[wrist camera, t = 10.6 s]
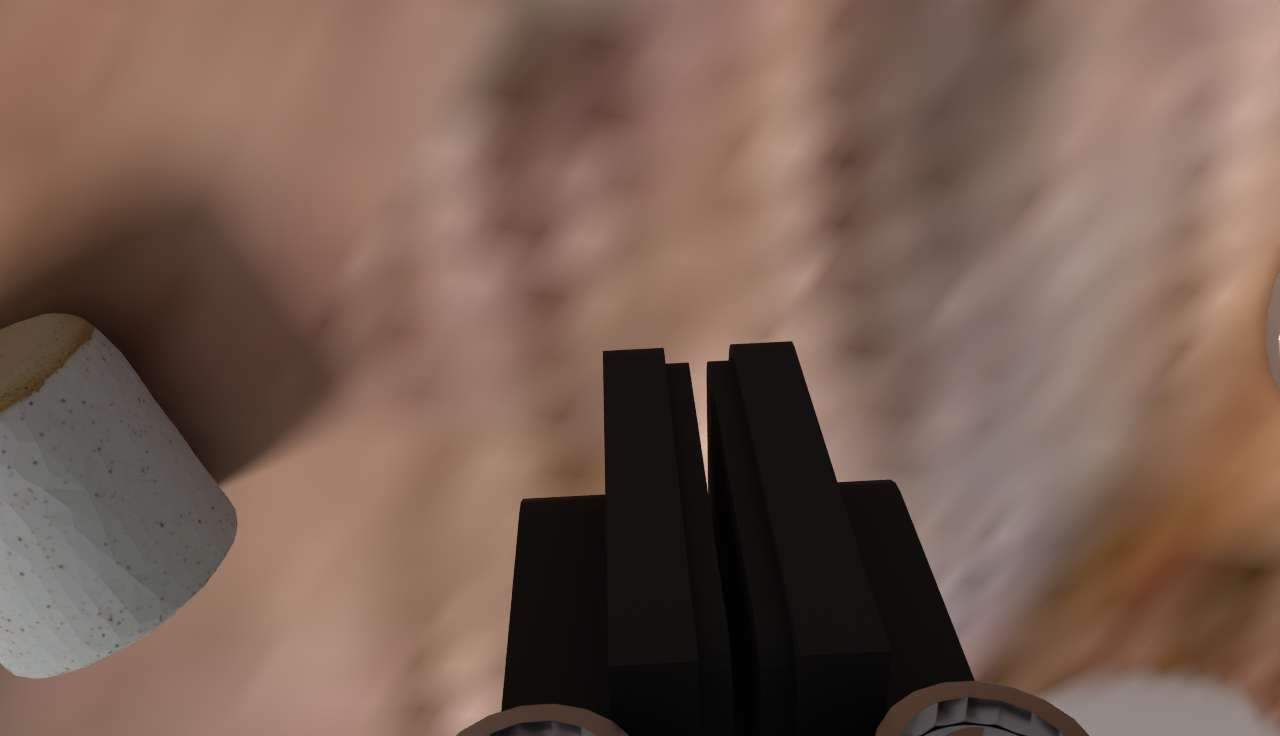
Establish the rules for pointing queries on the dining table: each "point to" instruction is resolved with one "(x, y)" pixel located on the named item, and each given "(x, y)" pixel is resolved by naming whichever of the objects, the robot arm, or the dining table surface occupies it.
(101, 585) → the ceramic mug
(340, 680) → the dining table surface
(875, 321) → the dining table surface
